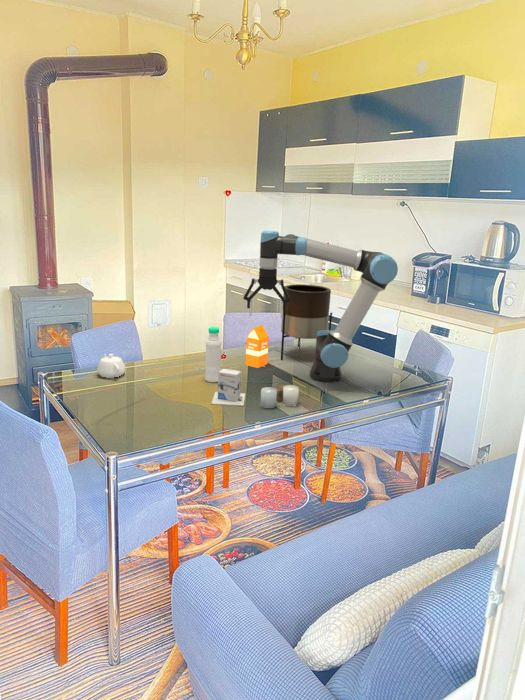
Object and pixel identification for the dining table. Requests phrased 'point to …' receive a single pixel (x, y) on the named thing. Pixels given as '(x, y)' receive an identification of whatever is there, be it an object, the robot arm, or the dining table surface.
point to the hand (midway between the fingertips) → (265, 316)
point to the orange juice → (257, 347)
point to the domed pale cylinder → (268, 397)
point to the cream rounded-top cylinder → (290, 395)
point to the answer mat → (228, 401)
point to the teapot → (111, 366)
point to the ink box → (229, 384)
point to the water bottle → (213, 355)
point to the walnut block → (279, 393)
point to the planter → (305, 312)
